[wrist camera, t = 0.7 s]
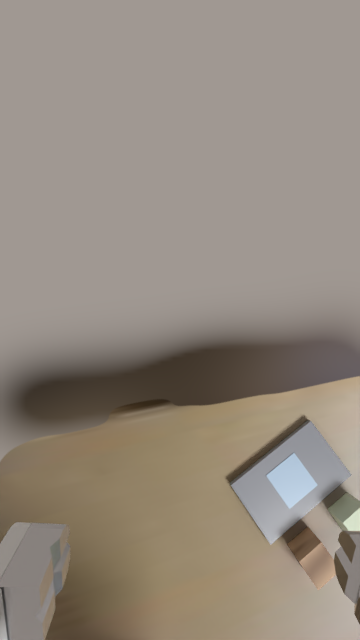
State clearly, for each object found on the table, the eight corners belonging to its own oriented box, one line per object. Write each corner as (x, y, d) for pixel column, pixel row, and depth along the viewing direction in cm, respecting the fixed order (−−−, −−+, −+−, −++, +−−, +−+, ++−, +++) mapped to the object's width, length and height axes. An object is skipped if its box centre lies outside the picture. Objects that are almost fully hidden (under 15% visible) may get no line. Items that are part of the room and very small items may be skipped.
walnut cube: (324, 551, 51) (340, 569, 46) (304, 569, 50) (318, 590, 45) (307, 526, 52) (321, 542, 47) (287, 544, 51) (299, 561, 46)
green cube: (363, 515, 52) (383, 530, 47) (344, 533, 51) (362, 549, 47) (346, 492, 53) (363, 504, 48) (327, 509, 52) (342, 522, 47)
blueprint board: (347, 472, 53) (351, 475, 52) (268, 540, 51) (270, 545, 50) (308, 420, 55) (311, 421, 54) (229, 483, 53) (230, 485, 51)
